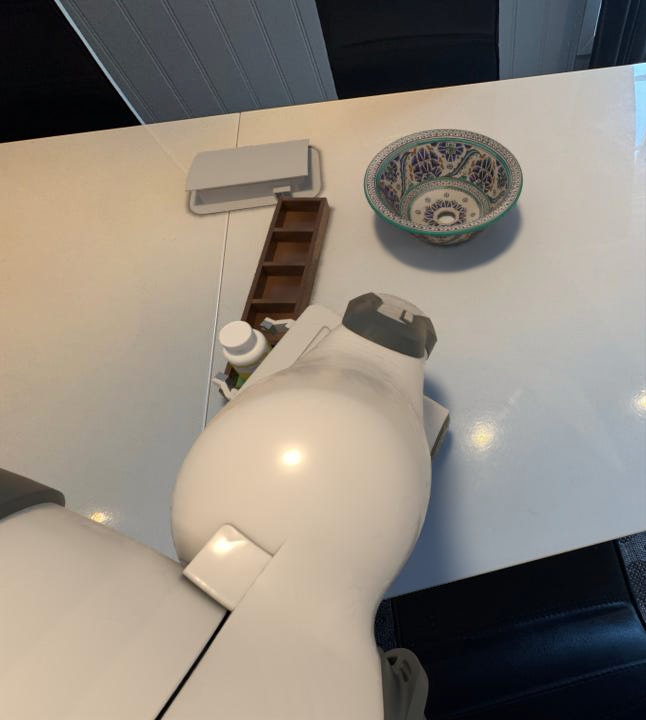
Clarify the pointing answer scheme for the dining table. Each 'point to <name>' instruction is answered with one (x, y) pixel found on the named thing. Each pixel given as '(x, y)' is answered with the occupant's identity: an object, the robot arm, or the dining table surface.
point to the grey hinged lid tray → (252, 176)
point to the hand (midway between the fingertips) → (241, 350)
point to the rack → (285, 267)
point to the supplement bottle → (243, 347)
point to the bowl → (443, 184)
